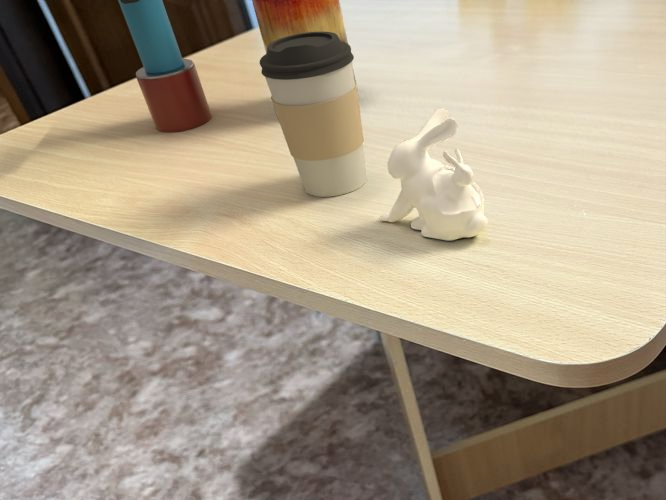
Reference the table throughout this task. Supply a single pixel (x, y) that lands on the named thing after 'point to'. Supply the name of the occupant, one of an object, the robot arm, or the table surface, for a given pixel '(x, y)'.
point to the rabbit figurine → (436, 185)
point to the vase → (298, 18)
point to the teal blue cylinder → (152, 35)
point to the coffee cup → (318, 110)
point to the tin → (175, 98)
